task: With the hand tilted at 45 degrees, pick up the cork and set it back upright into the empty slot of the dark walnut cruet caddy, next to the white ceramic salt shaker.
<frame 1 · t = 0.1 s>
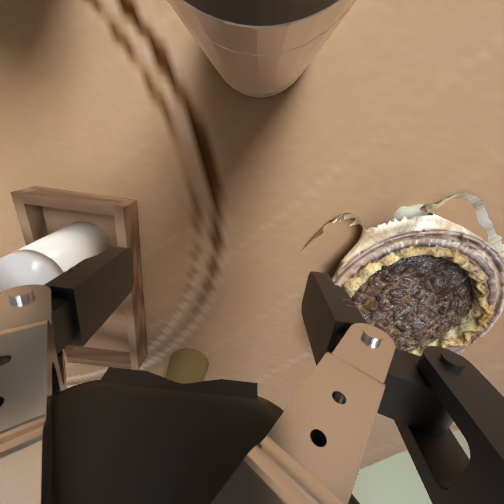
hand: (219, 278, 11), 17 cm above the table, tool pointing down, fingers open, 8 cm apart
cork: (189, 361, 39), on the table
salt shaker: (88, 242, 29), point 1 cm above the table, touching cruet caddy
pie: (389, 292, 33), on the table
cruet caddy: (100, 283, 32), on the table
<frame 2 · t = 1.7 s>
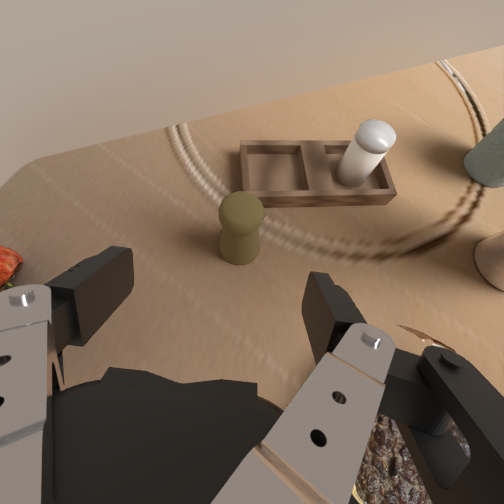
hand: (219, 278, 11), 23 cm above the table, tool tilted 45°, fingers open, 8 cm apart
pomegranate: (13, 283, 32), on the table
cork: (239, 246, 37), on the table
salt shaker: (350, 174, 42), point 1 cm above the table, touching cruet caddy
pie: (393, 443, 29), on the table
cruet caddy: (311, 178, 42), on the table
drinking glass: (484, 168, 47), on the table
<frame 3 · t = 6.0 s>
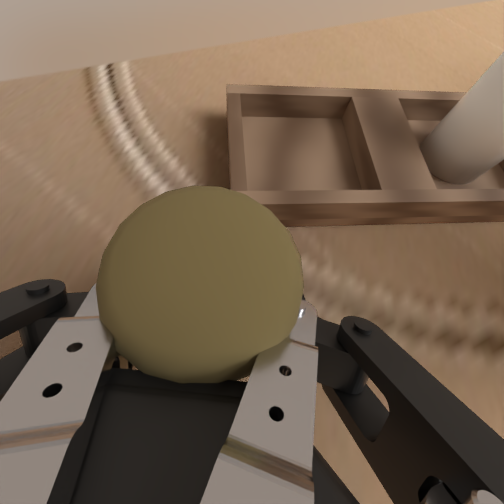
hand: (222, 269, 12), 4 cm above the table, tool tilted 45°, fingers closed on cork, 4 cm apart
cork: (220, 321, 15), on the table, touching gripper
salt shaker: (448, 159, 21), point 1 cm above the table, touching cruet caddy
cruet caddy: (369, 167, 21), on the table
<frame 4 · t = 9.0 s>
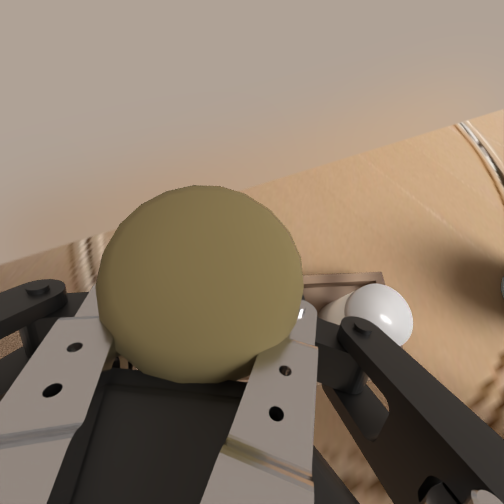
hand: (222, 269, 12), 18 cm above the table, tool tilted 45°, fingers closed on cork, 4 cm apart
cork: (219, 321, 15), point 13 cm above the table, touching gripper
salt shaker: (338, 325, 28), point 1 cm above the table, touching cruet caddy
cruet caddy: (281, 329, 28), on the table
when the fingers open (7 cm above the table, at t = 11.9 s): cork drops 1 cm, resting on cruet caddy.
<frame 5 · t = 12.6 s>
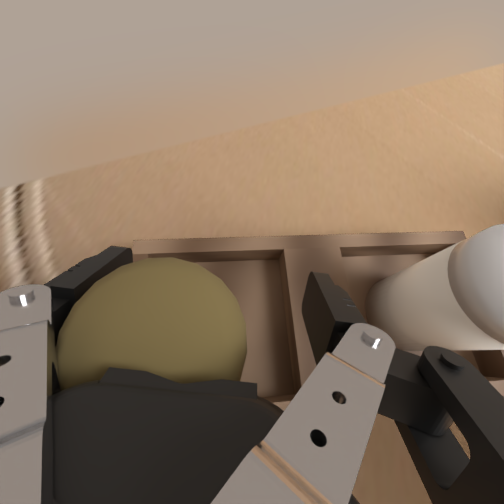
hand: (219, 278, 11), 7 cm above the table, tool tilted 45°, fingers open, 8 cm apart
cork: (198, 348, 16), point 1 cm above the table, touching cruet caddy
salt shaker: (400, 312, 18), point 1 cm above the table, touching cruet caddy
cruet caddy: (309, 320, 18), on the table
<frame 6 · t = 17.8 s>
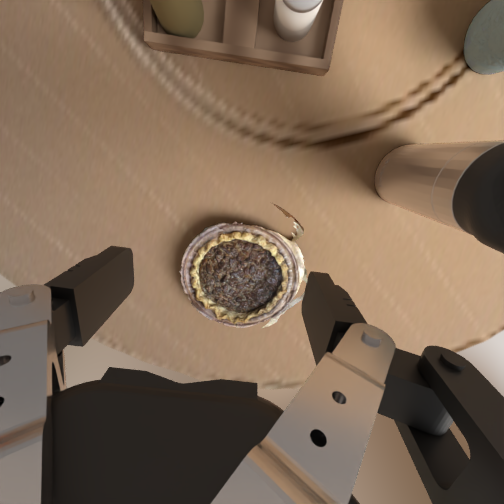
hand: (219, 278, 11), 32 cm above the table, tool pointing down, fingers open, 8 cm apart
cork: (181, 13, 32), point 1 cm above the table, touching cruet caddy
salt shaker: (293, 16, 32), point 1 cm above the table, touching cruet caddy
pie: (240, 267, 48), on the table
cruet caddy: (243, 12, 32), on the table
drinking glass: (496, 35, 33), on the table
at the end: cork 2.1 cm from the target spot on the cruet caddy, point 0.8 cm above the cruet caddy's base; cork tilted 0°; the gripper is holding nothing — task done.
